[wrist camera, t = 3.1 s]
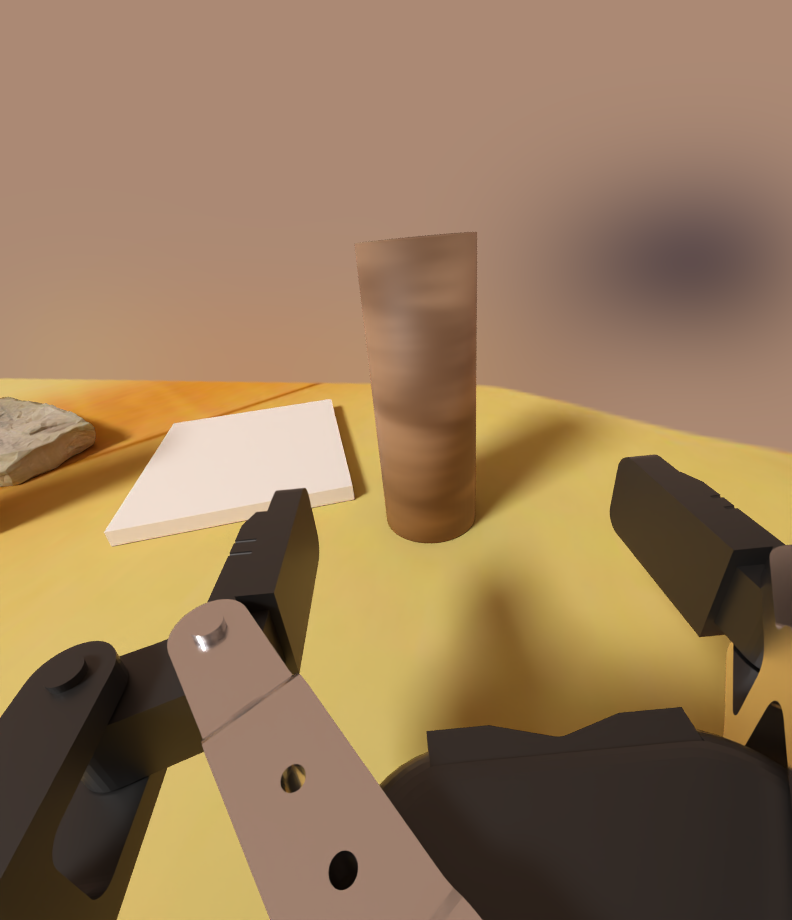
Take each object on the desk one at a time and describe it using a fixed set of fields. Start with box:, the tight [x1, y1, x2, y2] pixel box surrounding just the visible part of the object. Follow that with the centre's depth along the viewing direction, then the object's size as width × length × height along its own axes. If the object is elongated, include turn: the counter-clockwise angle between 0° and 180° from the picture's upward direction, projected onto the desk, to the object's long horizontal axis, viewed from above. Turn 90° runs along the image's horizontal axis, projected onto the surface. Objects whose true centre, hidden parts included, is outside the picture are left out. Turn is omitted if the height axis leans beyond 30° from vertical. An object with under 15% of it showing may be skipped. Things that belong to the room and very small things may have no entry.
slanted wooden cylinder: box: [355, 232, 477, 543], centre depth 21 cm, size 5×5×14 cm
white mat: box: [104, 399, 355, 546], centre depth 32 cm, size 14×16×1 cm
